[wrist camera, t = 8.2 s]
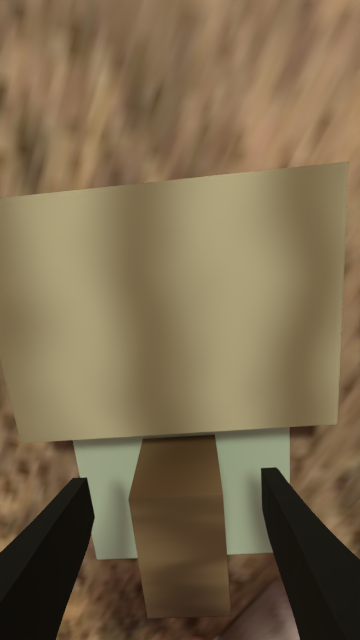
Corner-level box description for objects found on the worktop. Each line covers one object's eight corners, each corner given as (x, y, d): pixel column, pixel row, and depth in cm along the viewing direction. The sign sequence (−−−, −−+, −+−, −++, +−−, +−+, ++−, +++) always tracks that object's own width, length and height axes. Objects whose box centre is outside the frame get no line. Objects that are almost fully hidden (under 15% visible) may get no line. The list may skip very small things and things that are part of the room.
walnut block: (223, 494, 12) (231, 616, 14) (215, 434, 16) (222, 535, 18) (128, 498, 12) (147, 618, 14) (142, 438, 16) (156, 537, 18)
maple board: (319, 177, 13) (348, 161, 11) (314, 396, 16) (337, 424, 13) (-1, 210, 14) (-41, 202, 12) (45, 414, 17) (21, 443, 14)
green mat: (286, 406, 16) (289, 412, 16) (286, 543, 18) (289, 552, 18) (73, 420, 17) (69, 425, 16) (99, 551, 19) (96, 559, 19)
